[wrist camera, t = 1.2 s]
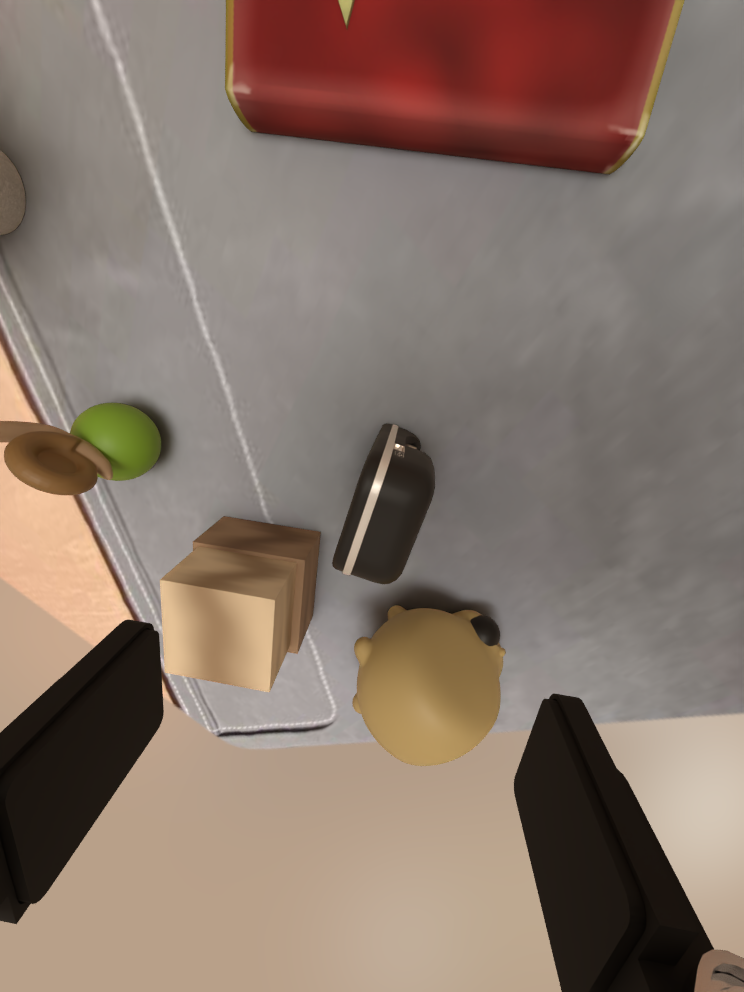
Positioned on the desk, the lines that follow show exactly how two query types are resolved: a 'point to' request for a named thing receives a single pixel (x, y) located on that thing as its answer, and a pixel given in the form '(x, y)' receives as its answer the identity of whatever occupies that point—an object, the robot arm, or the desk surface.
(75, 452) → the snail figurine
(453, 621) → the toy pig
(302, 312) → the desk surface
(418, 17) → the hardcover book
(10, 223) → the house plant
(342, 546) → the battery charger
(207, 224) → the desk surface
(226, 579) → the oak block
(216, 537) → the walnut block
